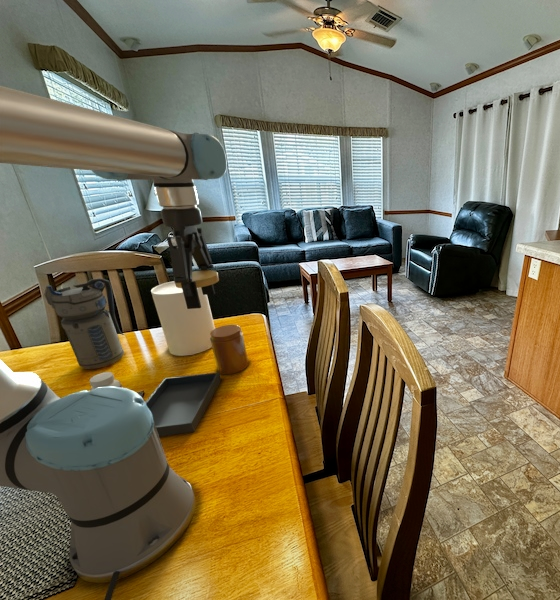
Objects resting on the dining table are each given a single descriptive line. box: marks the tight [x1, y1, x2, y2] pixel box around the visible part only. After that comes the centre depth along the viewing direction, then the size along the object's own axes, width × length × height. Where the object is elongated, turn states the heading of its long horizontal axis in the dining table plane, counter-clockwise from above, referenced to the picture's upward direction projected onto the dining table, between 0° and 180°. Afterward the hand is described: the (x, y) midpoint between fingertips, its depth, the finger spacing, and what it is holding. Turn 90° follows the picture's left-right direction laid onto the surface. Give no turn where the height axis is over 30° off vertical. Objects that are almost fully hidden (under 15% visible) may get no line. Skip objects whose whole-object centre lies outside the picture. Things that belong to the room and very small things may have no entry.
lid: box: [175, 269, 220, 288], centre depth 79 cm, size 9×9×2 cm
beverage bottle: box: [43, 277, 125, 370], centre depth 92 cm, size 10×13×25 cm
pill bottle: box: [89, 371, 123, 391], centre depth 74 cm, size 5×5×10 cm
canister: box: [150, 280, 216, 357], centre depth 102 cm, size 14×14×20 cm
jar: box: [210, 324, 250, 375], centre depth 92 cm, size 8×8×12 cm
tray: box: [145, 371, 222, 438], centre depth 77 cm, size 19×13×2 cm
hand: (202, 300), depth 81 cm, fingers closed on lid, 9 cm apart
